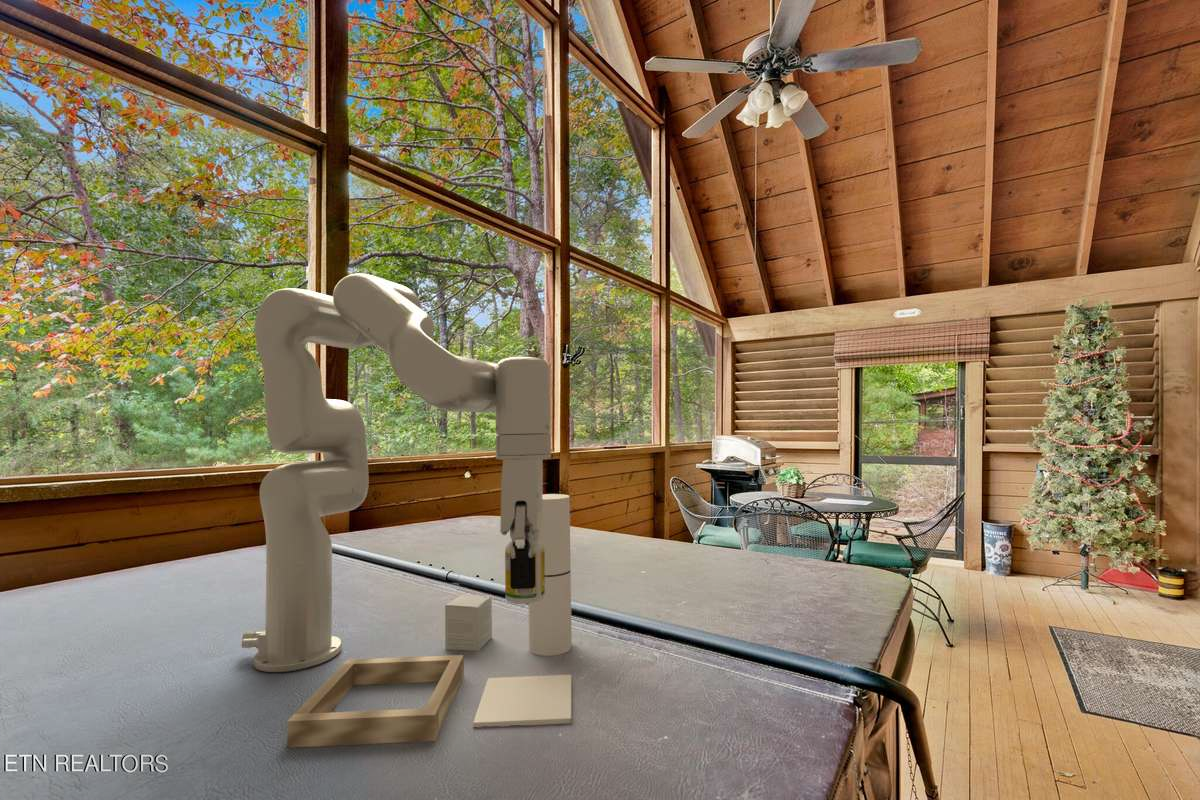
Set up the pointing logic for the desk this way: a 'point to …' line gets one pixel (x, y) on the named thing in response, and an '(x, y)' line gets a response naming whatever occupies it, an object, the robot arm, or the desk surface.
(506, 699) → the pad
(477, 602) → the product box
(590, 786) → the desk surface
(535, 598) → the supplement bottle
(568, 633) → the cylindrical container
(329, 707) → the wooden square frame
